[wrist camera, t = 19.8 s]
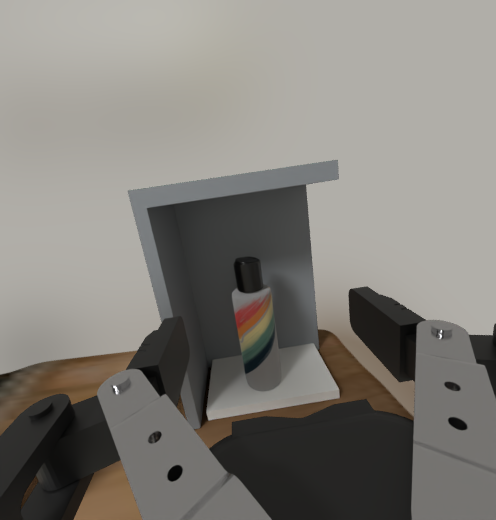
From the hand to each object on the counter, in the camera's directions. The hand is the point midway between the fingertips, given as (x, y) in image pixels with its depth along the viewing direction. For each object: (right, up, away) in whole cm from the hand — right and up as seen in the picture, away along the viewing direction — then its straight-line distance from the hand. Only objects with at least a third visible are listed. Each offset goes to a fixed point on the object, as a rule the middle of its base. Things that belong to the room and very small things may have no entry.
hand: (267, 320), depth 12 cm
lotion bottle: (+2, -16, +28) cm, 32 cm away
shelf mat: (+2, -17, +29) cm, 34 cm away
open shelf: (+2, -17, +29) cm, 34 cm away
